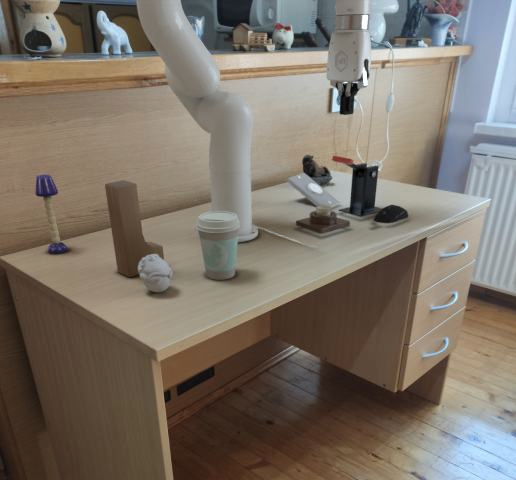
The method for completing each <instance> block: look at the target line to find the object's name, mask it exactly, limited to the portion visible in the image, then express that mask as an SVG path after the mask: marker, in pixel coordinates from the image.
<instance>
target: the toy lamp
mask: <svg viewBox="0 0 516 480" xmlns="http://www.w3.org/2000/svg"><path fill="white" fill-rule="evenodd" d="M34 190H35V192H34V193H35V196H36V197H39V198H42V199H43V202H44V209H45V214H46V215H47V222H48V228H49V230H50V235H51V241H52V242H51V243H50V244H49V246H48V249H47V252H48V253H49V254H53V255H55V254H62V253H65V252H67V251H68V249H69V248H68V246H67V245H66V244H65V243H64V242H62V241H61V237H60V232H59V229H58V224H57V218H56V216H55V215H56V214H55V213H56V212H55V210H54V204H53V197H54V196H57V195H58V194H59V190H58V188H57V186H56V183H55V182H54V179H53V177H52V175H50V174H37V175H36V177H35V189H34Z"/></svg>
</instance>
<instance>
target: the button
mask: <svg viewBox="0 0 516 480" xmlns="http://www.w3.org/2000/svg"><path fill="white" fill-rule="evenodd" d="M315 211H316V215H318V216H330V215H331V211H332V206H327V205H319V206H316V207H315Z"/></svg>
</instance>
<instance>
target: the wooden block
mask: <svg viewBox="0 0 516 480" xmlns="http://www.w3.org/2000/svg"><path fill="white" fill-rule="evenodd" d="M104 188H105V195H106V201H107V208H108V209H107V210H108V215H109V223H110V229H111V237H112V242H113V249H114V256H115V262H116V268H117V269H116V270H117V272H118V273H120V274H122V275H124V276H126V277H128V278H131V277H135V276H138V275H140V274H139V272H138V265H139V262H140V260H142V258H143V257H145V256H147V255H151V254H158V255H159V257H160V258H162V259H163V260H164V261H165V255H164V247H163V245H161V244H158V243H155V242H153V241H146V240H145V237H144V234H143V227H142V217H141V210H140V209H141V208H140V202H139V201H140V200H139V193H138V187H137V183H135V182H132V181H131V182H130V181H128V180H118V181H112V182H108V183H105V184H104Z"/></svg>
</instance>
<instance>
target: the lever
mask: <svg viewBox="0 0 516 480" xmlns="http://www.w3.org/2000/svg"><path fill="white" fill-rule="evenodd" d="M331 161H332V162H334V163H339V164H343V165H345V166H347V167H349V168H351V169H352V170H353V169H354V170H356V171H358V175H359V176H361V177H363V178H364V170H365V167H364V166H361V167H359V166H357V164H355V163H354V159H352V158H349V157H343V156H338V155H332V158H331Z"/></svg>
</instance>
